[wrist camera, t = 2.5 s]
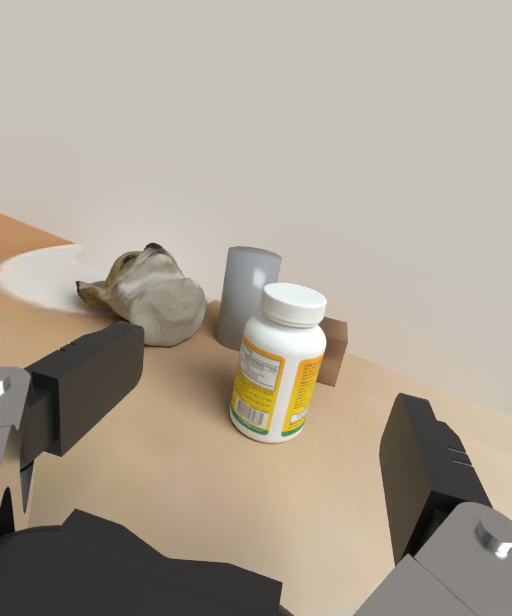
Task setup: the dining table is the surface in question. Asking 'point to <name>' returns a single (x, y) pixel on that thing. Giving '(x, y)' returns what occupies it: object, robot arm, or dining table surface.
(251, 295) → the light grey cylinder
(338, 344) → the walnut block
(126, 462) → the dining table surface
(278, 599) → the robot arm
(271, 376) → the supplement bottle
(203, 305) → the ceramic sculpture
